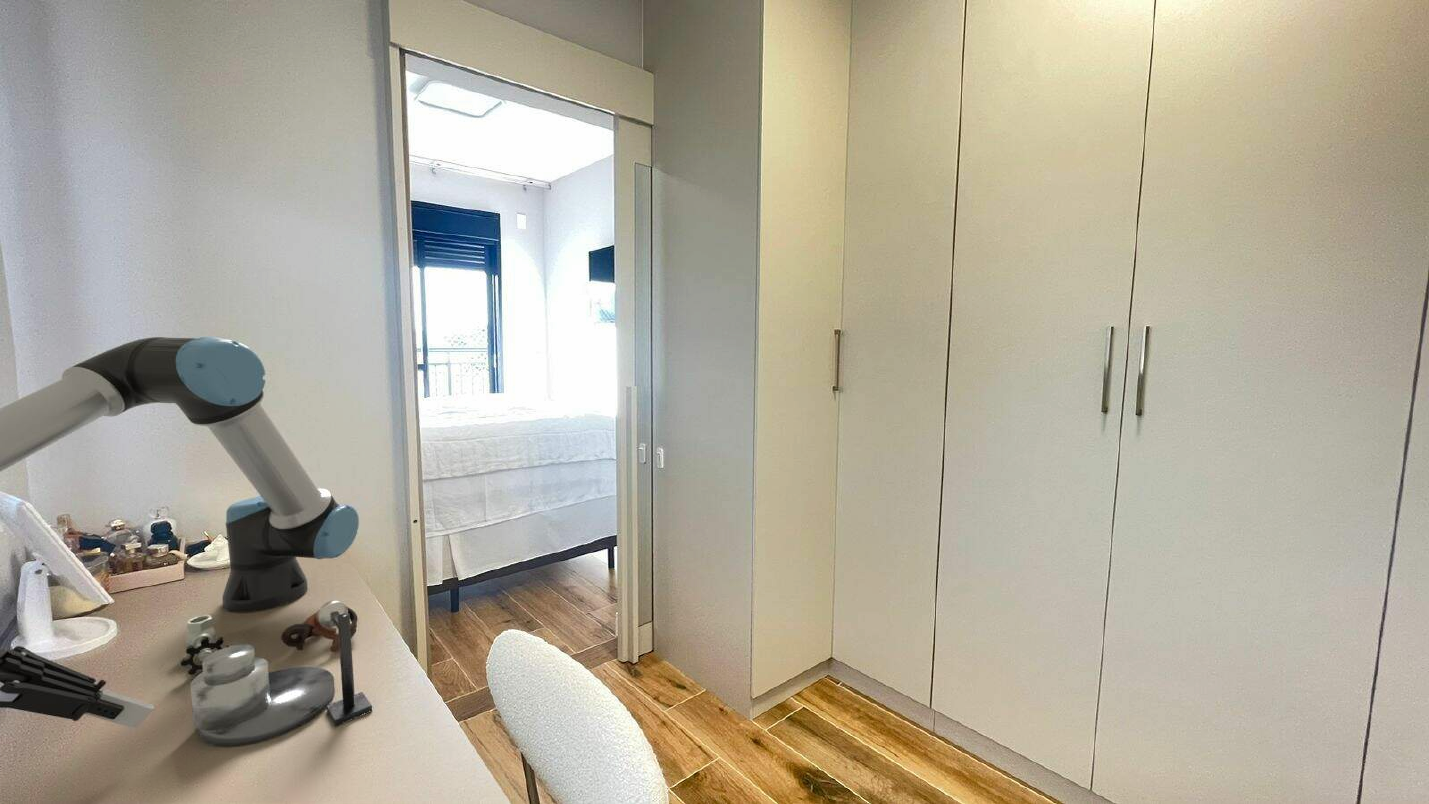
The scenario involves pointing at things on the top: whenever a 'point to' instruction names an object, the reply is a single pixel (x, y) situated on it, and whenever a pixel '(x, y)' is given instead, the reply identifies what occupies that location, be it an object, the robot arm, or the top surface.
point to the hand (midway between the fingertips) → (144, 716)
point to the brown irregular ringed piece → (315, 632)
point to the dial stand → (343, 665)
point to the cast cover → (230, 688)
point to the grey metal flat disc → (280, 707)
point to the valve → (200, 641)
